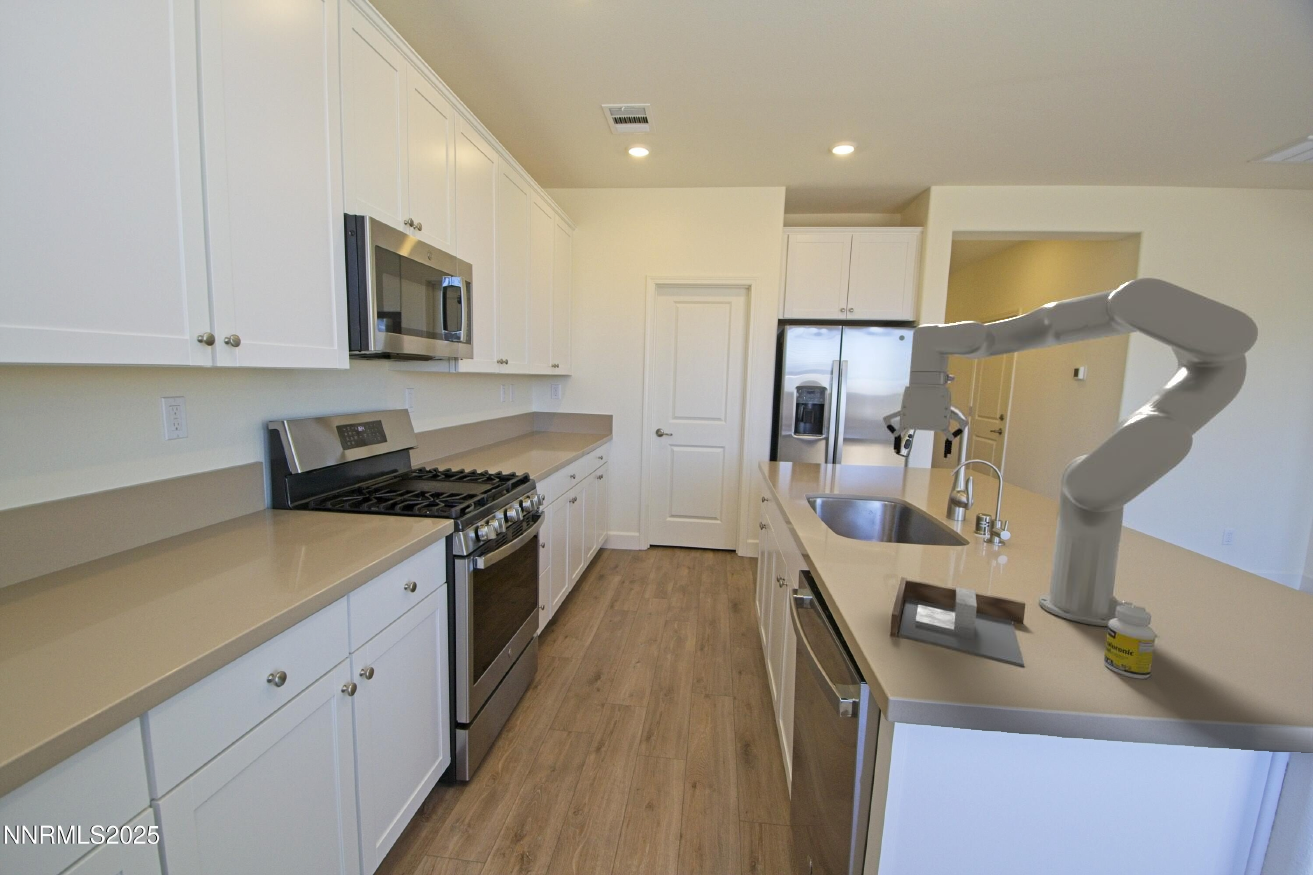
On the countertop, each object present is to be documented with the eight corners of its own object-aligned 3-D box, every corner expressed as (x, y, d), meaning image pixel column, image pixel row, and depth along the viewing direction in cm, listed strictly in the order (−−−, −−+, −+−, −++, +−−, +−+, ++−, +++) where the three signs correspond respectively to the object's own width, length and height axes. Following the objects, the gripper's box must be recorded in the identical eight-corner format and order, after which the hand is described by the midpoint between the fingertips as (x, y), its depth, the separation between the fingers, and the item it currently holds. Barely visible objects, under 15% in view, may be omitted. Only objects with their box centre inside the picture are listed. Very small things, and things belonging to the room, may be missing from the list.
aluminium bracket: (973, 639, 87) (976, 606, 87) (915, 625, 92) (918, 594, 91) (972, 621, 94) (975, 590, 94) (917, 609, 99) (920, 579, 98)
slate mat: (1011, 622, 95) (1012, 620, 95) (1023, 666, 80) (1024, 664, 80) (906, 599, 104) (906, 597, 104) (898, 635, 89) (898, 633, 89)
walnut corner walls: (1022, 620, 96) (1024, 600, 96) (1038, 672, 78) (1041, 648, 78) (899, 595, 106) (901, 576, 106) (889, 635, 89) (891, 613, 88)
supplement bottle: (1094, 660, 82) (1101, 603, 81) (1124, 660, 83) (1132, 602, 82) (1127, 680, 77) (1135, 618, 76) (1160, 679, 77) (1168, 618, 76)
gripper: (972, 381, 113) (964, 457, 115) (887, 380, 122) (882, 450, 123) (973, 381, 107) (965, 461, 108) (884, 379, 115) (878, 453, 117)
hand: (921, 455), depth 116 cm, fingers open, 9 cm apart
